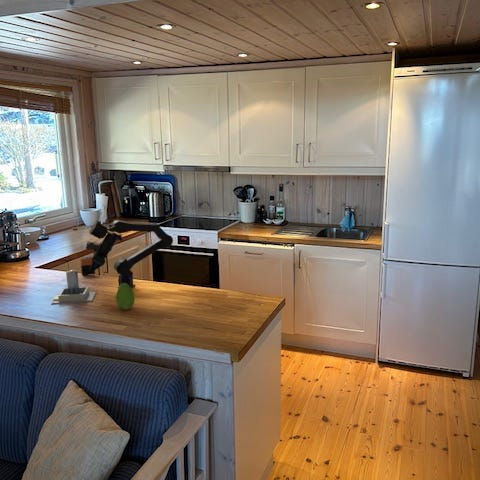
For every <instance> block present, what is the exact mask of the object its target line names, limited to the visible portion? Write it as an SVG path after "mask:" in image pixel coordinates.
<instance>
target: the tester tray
mask: <svg viewBox="0 0 480 480" xmlns="http://www.w3.org/2000/svg"><path fill="white" fill-rule="evenodd" d="M79 292H80V294H71V295H68V287H63V288H62V290H60V292H59V293H58V294H56V295H55V296H54V297H53V299H52V301H51V305H61V304H76V303H77V304H78V303H88V302H94V301H93V300H94V299H95V296H96V294H97V292H96V291H90V290H89V286H79Z"/></svg>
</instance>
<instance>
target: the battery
mask: <svg viewBox="0 0 480 480" xmlns="http://www.w3.org/2000/svg"><path fill="white" fill-rule="evenodd" d="M92 257H93V255H88V256H82V257H81V258H80V269H81V275H82V276H90V275H95V274H96V270H95V271H93V272H92V273H90V272H89V270H90V268H91V267H90V266H91V264H92Z"/></svg>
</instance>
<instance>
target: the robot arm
mask: <svg viewBox="0 0 480 480" xmlns="http://www.w3.org/2000/svg"><path fill="white" fill-rule="evenodd" d="M129 232H147V233H148V232H150V233H152V232H153V233H154V234H155V236H156V238H155V239H154V241H153V242H151V243H150V244H148V245H147V246H145V247H144V248H142V249H141V250H139V251H137V252H136V253H134V254H132V255H130V256H129V257H125V256H124V255H123V256H122V257H121V258H119V259H116V261H115V262H114V264H113V269H114V270H115V272H116V273H117V274H118V279H117V282H118V286H117V289H118V288H119V286H120V285H121V284H122V283H126V284H128V285H129V286H130V287H131V289H132V288H134V287H135V286H136V285H135V284H134V272H133V271H132V270H131V269H132V268H133V267H134V266H135V265H137V264H138V263H139V262H141V261H142V260H144V259H146V258H147V257H149V256H151V255H152V254H153V253H155V252H157V251H159V250H162V249H166V248H168V247H171V246H172V245H173V243H174V238H173V237H172V236H171V235H169V234H168V233H166V232H165V230H163V229H162V227H160V225H159V224H157V223H154V222H153V223H146V222H145V223H141V222H140V223H139V222H128V221H124V220H120V219H115V220H113V222H111V223H110V224H107V225H103V223H100V222H99V221H96V222H95V223H93V226H91V228H90V230H89V234H90V236H93V237H95V238H97V239H99V240H101V239H103V240H102V241H100V242H96V241H89V240H88V241H87V242H86V245H85V246H86V247H85V250H90V251H93V255H92V264H91V266H90V267H91V268H90V270H89V272H90V273H92V272H93V271H95V272H96V270H97V269H100V268H101V267H103V266H104V265H105V264H106V261H107V259H106V258H107V257H108V255H109V253H110V252H111V251H112V250H113V248H114V246H115V245H116V243H117V241H118V240H119V241H123V238H122V237H123V236H122V234H124V233H129Z"/></svg>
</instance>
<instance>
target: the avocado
mask: <svg viewBox="0 0 480 480" xmlns="http://www.w3.org/2000/svg"><path fill="white" fill-rule="evenodd" d="M118 287H119V288H118ZM118 287H117V291H116V295H115V302H116V306H117V307H118V308H119V309H121V310H123V311H125V310H129V309H130V308H132V307H133V306H134V303H135V293H134V291H133V289H132V288H131V287H130V286H129V285H128V284H126V283H122V284H121V285H120V286H119V285H118Z"/></svg>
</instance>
